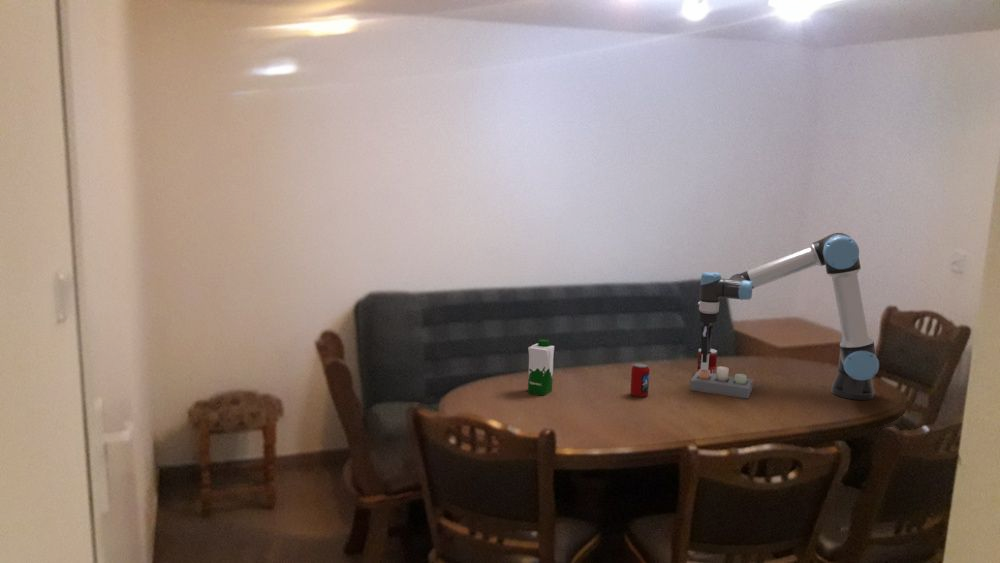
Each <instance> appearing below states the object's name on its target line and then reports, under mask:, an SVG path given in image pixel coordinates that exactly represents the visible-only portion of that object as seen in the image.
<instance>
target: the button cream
mask: <svg viewBox="0 0 1000 563" xmlns="http://www.w3.org/2000/svg"><path fill="white" fill-rule="evenodd" d="M729 369H730V368H729V367H728V366H727V367H726V366H721V365H720V366H716V374H717V376H716V380H717V381H722V382H727V381H728V376H729V373H730V372H729Z"/></svg>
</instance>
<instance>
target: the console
mask: <svg viewBox="0 0 1000 563" xmlns="http://www.w3.org/2000/svg"><path fill="white" fill-rule="evenodd" d="M698 375H699V372H697V371H696V372H695V374H694V375H693V377H692V378H691V379H690V381H689V391H694V392H700V393H706V394H707V393H708V394H713V395H720V396H728V397H735V398H742V399H746V400H747V399H749V397H750V395H751V393H752V391H753V388H754V379H753V378H747V381H746V385H743V384H736V383H734V382H735V376H731V375H728V381H727V382H722V381H717V380H716V376H717V373H716V374H711V373H710V379H709V380H707V379H700V378H698Z"/></svg>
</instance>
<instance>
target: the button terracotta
mask: <svg viewBox="0 0 1000 563" xmlns="http://www.w3.org/2000/svg"><path fill="white" fill-rule="evenodd" d="M698 378H700V379H707V380H709V379H710V370H708V371H706V370H701V369H699V375H698Z"/></svg>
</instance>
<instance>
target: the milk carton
mask: <svg viewBox="0 0 1000 563" xmlns="http://www.w3.org/2000/svg"><path fill="white" fill-rule="evenodd" d="M527 349H528V377H527V378H528V384H527V393H528V394H532V395H539V396H546V395H548V394H549V393H551V392H552V391H553V382H554V380H553V379H554V378H553V377H554V376H553V374H554V353H555V345H551V344H550V340H549V339H546V338H539V339H538V343H535V344H532V345H531V346H528V348H527Z"/></svg>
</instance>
